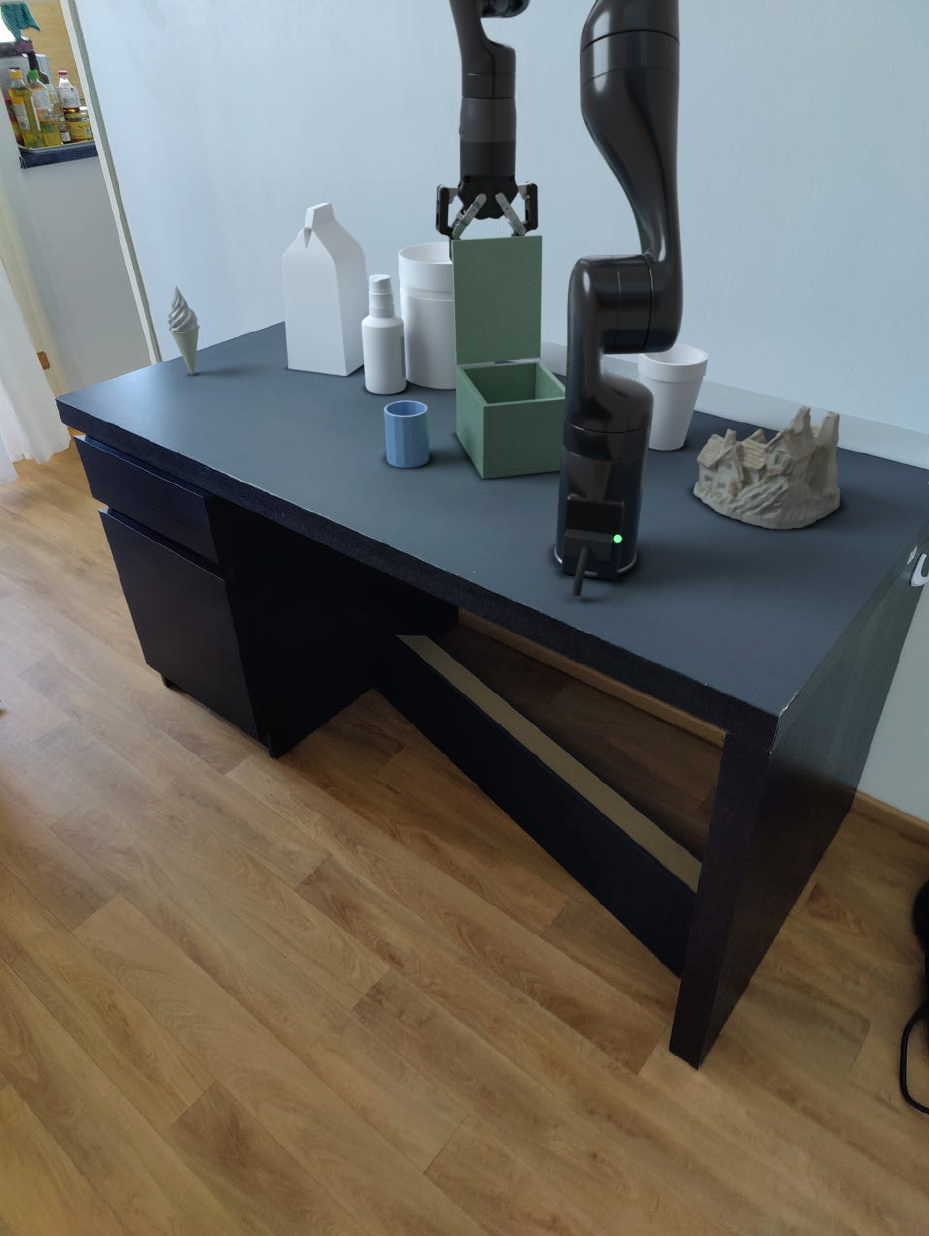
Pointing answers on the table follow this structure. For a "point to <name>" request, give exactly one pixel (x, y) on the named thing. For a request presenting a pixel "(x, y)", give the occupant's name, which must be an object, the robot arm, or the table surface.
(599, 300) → the robot arm
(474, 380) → the green box
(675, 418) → the foam cup
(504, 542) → the table surface
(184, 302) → the ice cream cone
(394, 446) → the cup
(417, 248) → the canister
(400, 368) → the spray bottle
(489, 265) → the lid
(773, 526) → the ceramic cottage
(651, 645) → the table surface
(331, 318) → the milk
